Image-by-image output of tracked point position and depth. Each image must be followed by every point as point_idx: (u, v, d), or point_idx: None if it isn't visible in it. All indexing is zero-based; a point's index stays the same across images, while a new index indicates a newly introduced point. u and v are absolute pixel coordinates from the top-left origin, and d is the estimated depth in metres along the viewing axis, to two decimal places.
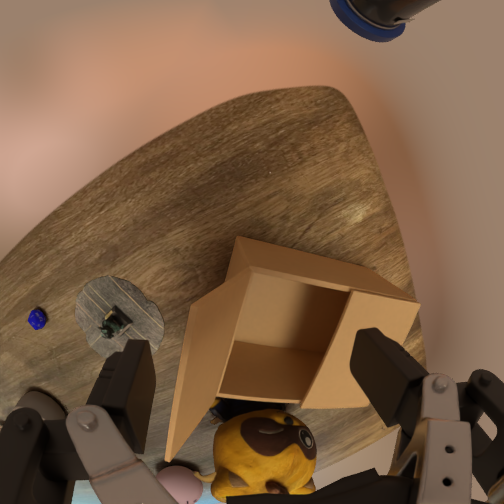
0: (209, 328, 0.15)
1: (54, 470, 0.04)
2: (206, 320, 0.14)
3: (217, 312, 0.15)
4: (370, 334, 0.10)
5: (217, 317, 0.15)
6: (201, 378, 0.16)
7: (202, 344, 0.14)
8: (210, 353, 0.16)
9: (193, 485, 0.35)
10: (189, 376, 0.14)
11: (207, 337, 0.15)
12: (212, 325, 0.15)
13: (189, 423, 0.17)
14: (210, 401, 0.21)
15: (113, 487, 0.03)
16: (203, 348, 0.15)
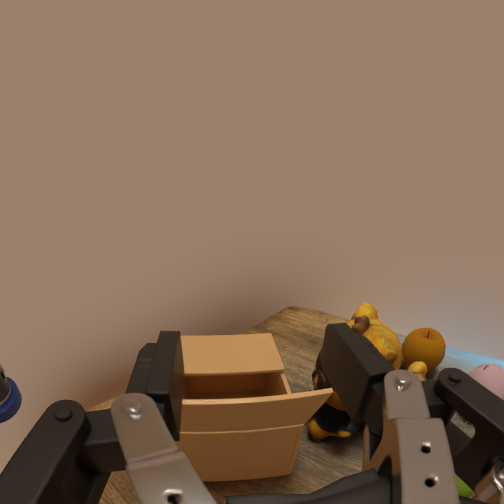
0: None
1: (89, 464, 0.05)
2: None
3: None
4: (338, 329, 0.10)
5: None
6: None
7: None
8: None
9: None
10: None
11: None
12: None
13: None
14: None
15: (148, 474, 0.04)
16: None
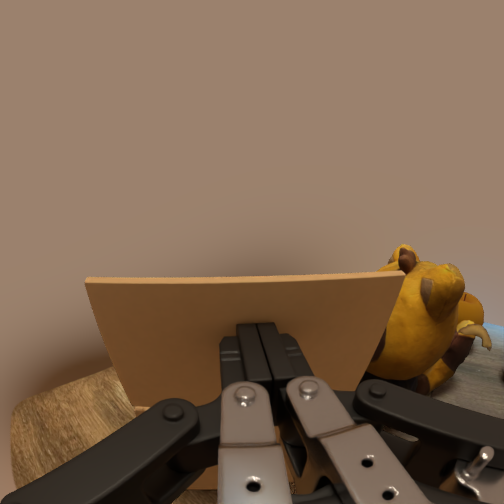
0: None
1: (183, 464, 0.05)
2: None
3: None
4: (262, 328, 0.10)
5: None
6: None
7: None
8: None
9: None
10: None
11: None
12: None
13: None
14: None
15: (238, 458, 0.04)
16: None
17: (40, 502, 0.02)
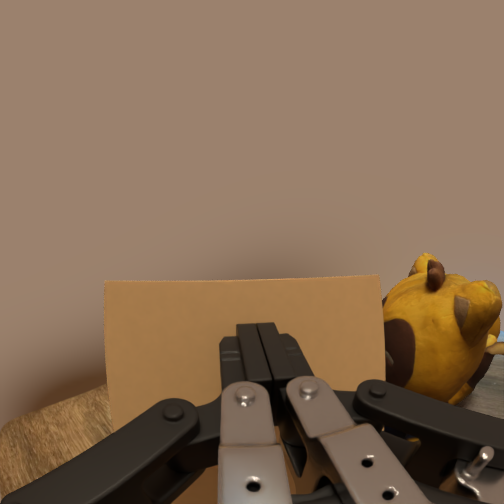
0: None
1: (183, 464, 0.05)
2: None
3: None
4: (262, 328, 0.10)
5: None
6: None
7: None
8: None
9: None
10: None
11: None
12: None
13: None
14: None
15: (238, 459, 0.04)
16: None
17: (40, 502, 0.02)
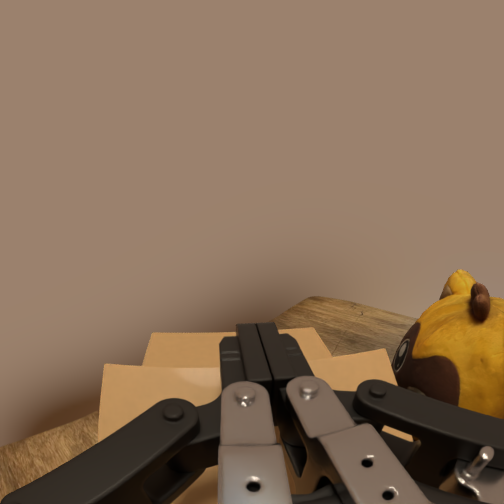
0: None
1: (183, 464, 0.05)
2: None
3: None
4: (262, 328, 0.10)
5: None
6: None
7: None
8: None
9: None
10: None
11: None
12: None
13: None
14: None
15: (239, 458, 0.04)
16: None
17: (40, 502, 0.02)
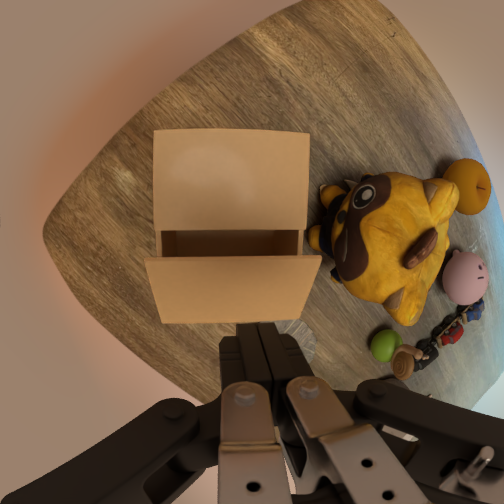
0: None
1: (183, 464, 0.05)
2: None
3: None
4: (261, 328, 0.10)
5: None
6: None
7: None
8: None
9: (460, 267, 0.36)
10: None
11: None
12: None
13: None
14: None
15: (239, 459, 0.04)
16: None
17: (40, 502, 0.02)
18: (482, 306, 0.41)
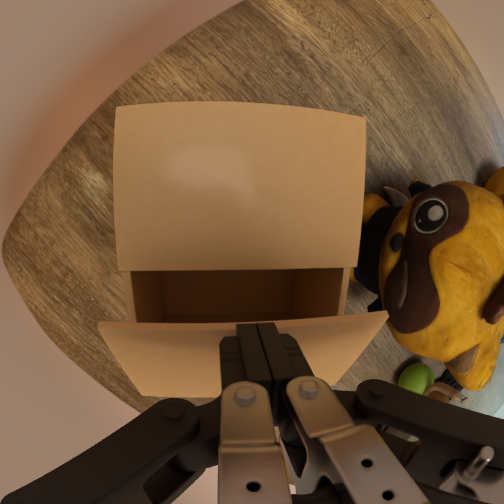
0: None
1: (183, 464, 0.05)
2: None
3: None
4: (262, 328, 0.10)
5: None
6: None
7: None
8: None
9: None
10: None
11: None
12: None
13: None
14: None
15: (239, 458, 0.04)
16: None
17: (40, 502, 0.02)
18: None
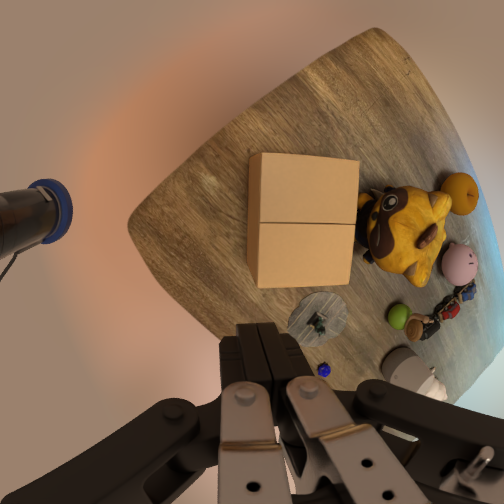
0: None
1: (183, 464, 0.05)
2: None
3: None
4: (262, 328, 0.10)
5: None
6: None
7: None
8: None
9: (455, 255, 0.47)
10: None
11: None
12: None
13: None
14: None
15: (239, 459, 0.04)
16: None
17: (40, 502, 0.02)
18: (474, 289, 0.53)
